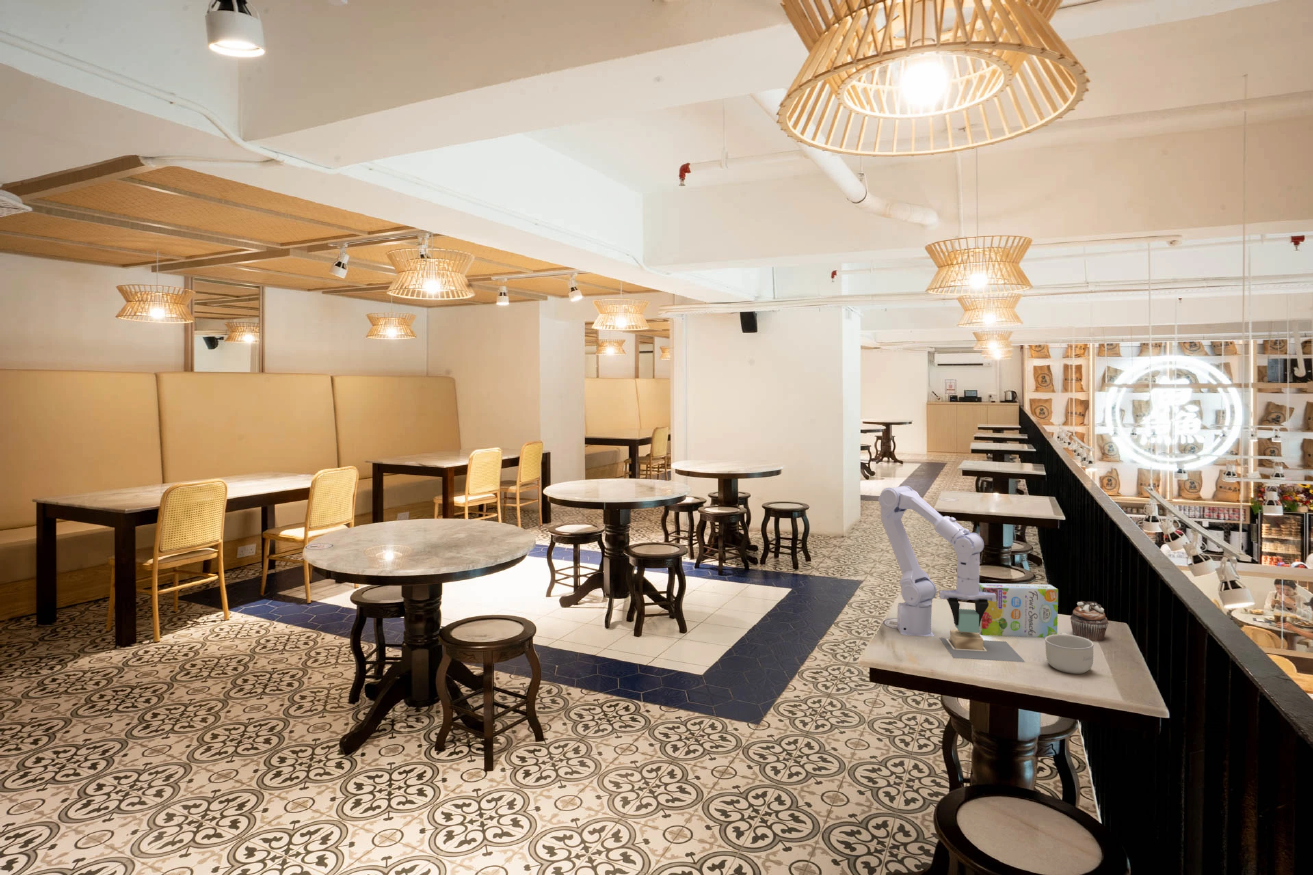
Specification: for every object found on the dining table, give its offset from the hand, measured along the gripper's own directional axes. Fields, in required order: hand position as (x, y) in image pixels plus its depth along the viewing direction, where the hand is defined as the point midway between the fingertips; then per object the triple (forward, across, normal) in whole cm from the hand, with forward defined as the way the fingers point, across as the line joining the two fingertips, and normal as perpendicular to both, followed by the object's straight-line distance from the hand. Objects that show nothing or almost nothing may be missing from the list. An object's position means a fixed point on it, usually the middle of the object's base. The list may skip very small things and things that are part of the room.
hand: (966, 624), depth 198 cm
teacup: (+7, +22, -12) cm, 26 cm away
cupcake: (+6, +38, +16) cm, 42 cm away
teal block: (+1, 0, 0) cm, 1 cm away
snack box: (+7, +17, +13) cm, 22 cm away
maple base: (+6, 0, 0) cm, 6 cm away
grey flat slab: (+6, +3, -3) cm, 8 cm away
